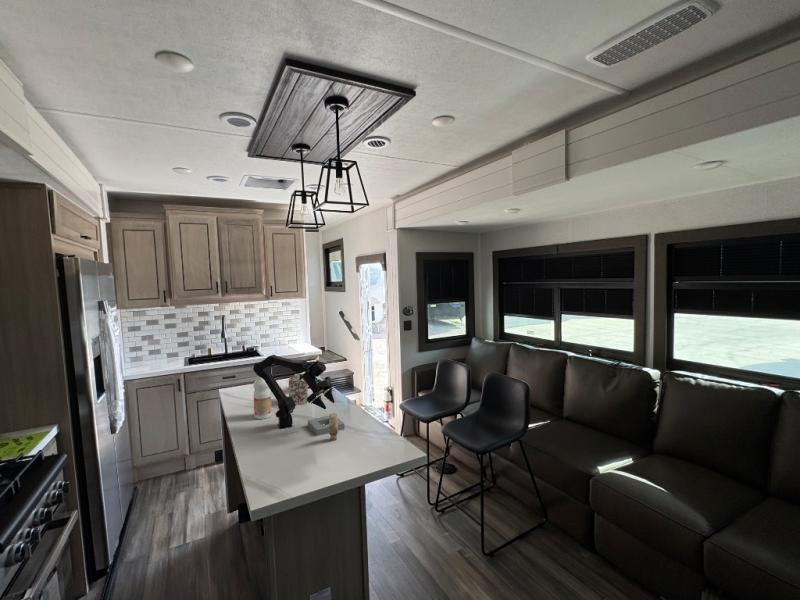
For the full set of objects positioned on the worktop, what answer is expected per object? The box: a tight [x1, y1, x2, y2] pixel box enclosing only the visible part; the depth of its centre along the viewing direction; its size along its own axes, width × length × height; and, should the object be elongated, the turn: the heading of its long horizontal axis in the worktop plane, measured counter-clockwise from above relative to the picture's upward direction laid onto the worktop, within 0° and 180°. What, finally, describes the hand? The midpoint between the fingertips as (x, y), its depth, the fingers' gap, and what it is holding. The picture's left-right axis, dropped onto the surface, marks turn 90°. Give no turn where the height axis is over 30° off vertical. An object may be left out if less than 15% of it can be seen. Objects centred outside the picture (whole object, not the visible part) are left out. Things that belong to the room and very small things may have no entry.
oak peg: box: [328, 412, 339, 442], centre depth 185 cm, size 4×4×12 cm
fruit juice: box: [253, 374, 273, 420], centre depth 216 cm, size 9×9×28 cm
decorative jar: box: [288, 373, 309, 405], centre depth 240 cm, size 12×12×18 cm
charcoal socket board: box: [307, 415, 345, 436], centre depth 200 cm, size 15×15×3 cm
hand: (330, 405), depth 193 cm, fingers open, 9 cm apart
